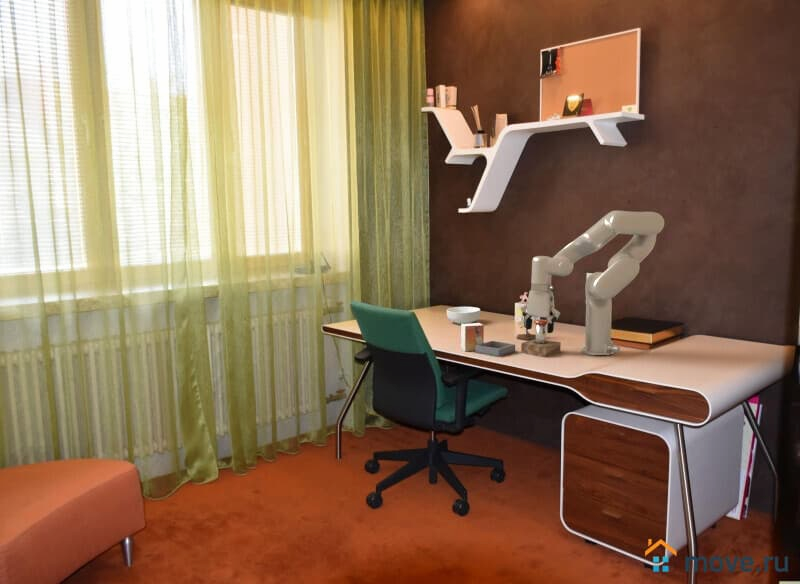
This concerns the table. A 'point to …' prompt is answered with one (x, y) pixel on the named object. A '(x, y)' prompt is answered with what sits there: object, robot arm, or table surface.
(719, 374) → the table surface
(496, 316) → the table surface
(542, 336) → the pin
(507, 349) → the tray
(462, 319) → the cereal bowl
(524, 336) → the bonsai tree
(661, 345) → the table surface
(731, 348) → the table surface
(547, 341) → the block
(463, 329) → the small box
